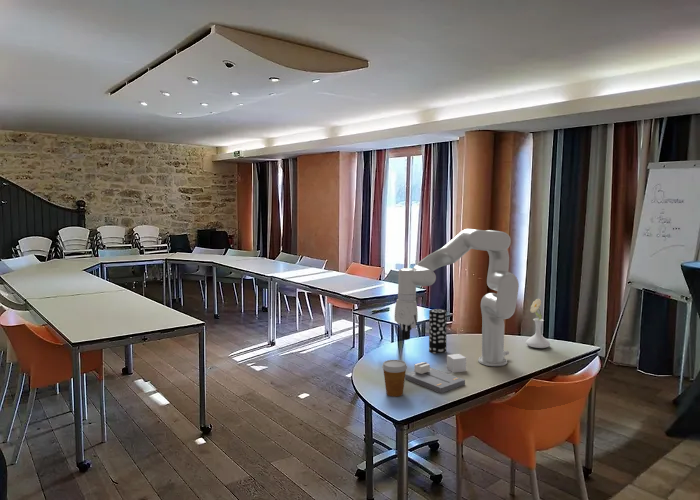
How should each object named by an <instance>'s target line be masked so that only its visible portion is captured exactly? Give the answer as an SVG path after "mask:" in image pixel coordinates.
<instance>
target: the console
mask: <svg viewBox="0 0 700 500" xmlns="http://www.w3.org/2000/svg"><path fill="white" fill-rule="evenodd" d="M405 380H408V381H411V382H413V383H414V382H415V384H417V385H420V386H422V387H425V388H427V389H429V390H432V391H434V392H438V393H439V394H443V393H445V392H447V391H450V390H453V389H457V388H459V387H463V386H465V385H466V379H464V378H461V377H458V376H456V375H453V374H449V373H447V372H444V371H441V370H440V369H436V368H433V367H431V366H430V371H429V372H426V373H423V374H420V373H417V372H415V371H411V372H407V373H405Z"/></svg>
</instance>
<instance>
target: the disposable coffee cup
mask: <svg viewBox="0 0 700 500" xmlns="http://www.w3.org/2000/svg"><path fill="white" fill-rule="evenodd" d="M381 368H382V370H383V375H384V378H383V379H384V385H385V392H386V395H387V396H389V397H396V398H397V397H400V396H401V397H402V395H403V394H404V387H405V386H404V385H405V380H406V379H405V374H406V370H407V368H408V365H407V363H406V361H403V360H400V359H389V360H385V361H383V362H382V366H381Z"/></svg>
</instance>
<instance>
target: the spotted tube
mask: <svg viewBox="0 0 700 500" xmlns="http://www.w3.org/2000/svg"><path fill="white" fill-rule="evenodd" d="M428 312H429V313H428V351H429V353H432V354H437V355H439V354H440V355H441V354H445V353H447V331H448V329H447V325H448V324H447V323H448V322H447V319H448V317H447V316H448V315H447V313H448V311H447V310H446V309H442V308H441V309H440V308H432V309H429V310H428Z"/></svg>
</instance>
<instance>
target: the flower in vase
mask: <svg viewBox="0 0 700 500" xmlns="http://www.w3.org/2000/svg"><path fill="white" fill-rule="evenodd" d="M541 305H542V300H541V298H536V299H535V300H533V302H532V304H531V305H530V309H529V312H530V313H532V314H533V313H535V315H536V317H535V318H533V319H532V320H533V321H534V324H535V334H533V335H532V336H530V337H529V338H528V339H526V340H525V344H526V345H527V346H529V347H530V348H531V347H532V348H535V349H545V348H549V347H550V345H551V344H550V341H549V340H548V339H547V338H546V337H544V336H543V335H542V333H541V330H542V324H543V322H544V321H545V320H544V319H543V318H542V317H543V315H542V313H541V310H540V308H541ZM538 311H539V312H538Z"/></svg>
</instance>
